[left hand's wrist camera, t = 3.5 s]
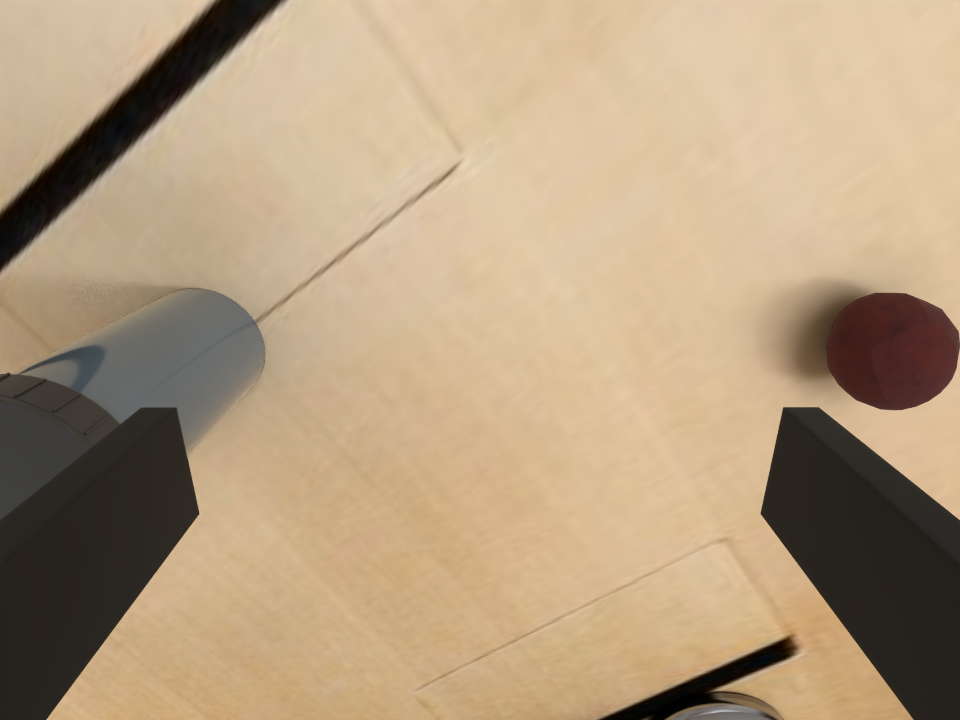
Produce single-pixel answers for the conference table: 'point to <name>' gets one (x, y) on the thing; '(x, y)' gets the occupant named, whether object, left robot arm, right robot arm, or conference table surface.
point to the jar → (166, 361)
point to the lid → (42, 433)
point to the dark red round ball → (892, 350)
